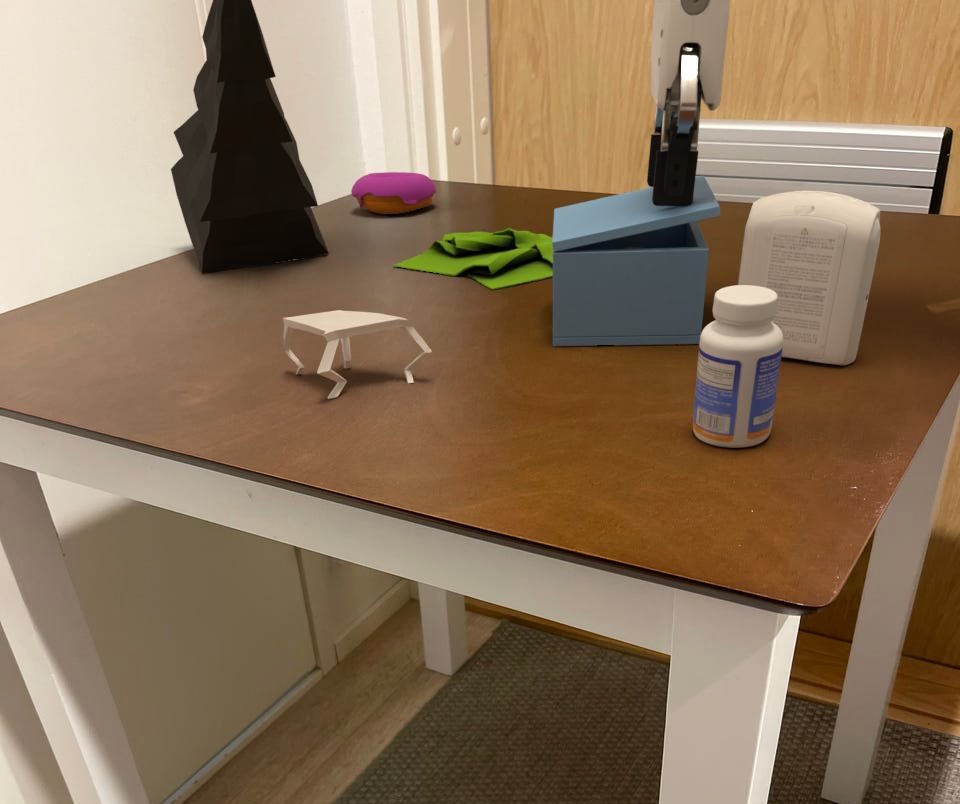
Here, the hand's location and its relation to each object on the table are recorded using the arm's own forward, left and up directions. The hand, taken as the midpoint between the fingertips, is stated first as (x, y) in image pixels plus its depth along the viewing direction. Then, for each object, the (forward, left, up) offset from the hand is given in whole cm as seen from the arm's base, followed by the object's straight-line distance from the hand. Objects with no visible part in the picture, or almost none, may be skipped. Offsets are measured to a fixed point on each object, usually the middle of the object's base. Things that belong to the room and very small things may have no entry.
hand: (668, 193), depth 81 cm
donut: (+31, -47, -11) cm, 58 cm away
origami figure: (+25, +13, -11) cm, 30 cm away
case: (+3, 0, -11) cm, 11 cm away
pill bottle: (-3, +24, -11) cm, 27 cm away
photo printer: (-10, +8, -11) cm, 17 cm away
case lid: (+3, 0, -2) cm, 3 cm away
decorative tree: (+42, -22, -11) cm, 49 cm away
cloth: (+16, -22, -11) cm, 30 cm away
